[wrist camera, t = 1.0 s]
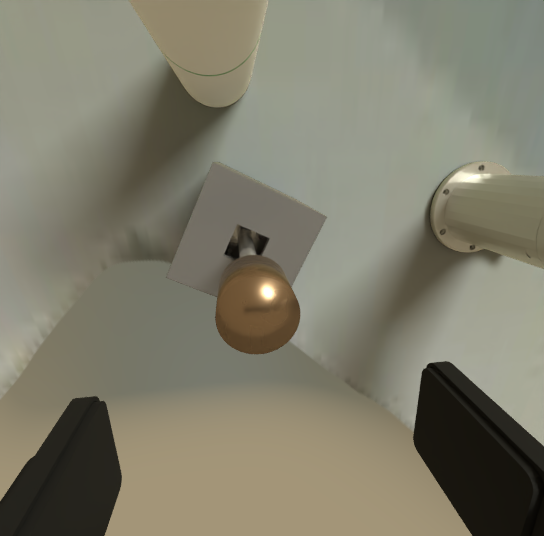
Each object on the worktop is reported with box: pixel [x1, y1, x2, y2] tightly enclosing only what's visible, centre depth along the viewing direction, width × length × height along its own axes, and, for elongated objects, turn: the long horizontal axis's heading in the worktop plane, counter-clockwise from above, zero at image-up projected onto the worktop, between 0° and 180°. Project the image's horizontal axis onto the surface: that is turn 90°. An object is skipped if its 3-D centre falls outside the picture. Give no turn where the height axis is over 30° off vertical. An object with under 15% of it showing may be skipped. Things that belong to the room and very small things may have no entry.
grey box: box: [166, 162, 327, 297], centre depth 37 cm, size 11×11×15 cm
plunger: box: [215, 224, 300, 354], centre depth 26 cm, size 8×8×20 cm
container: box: [129, 0, 268, 108], centre depth 24 cm, size 9×9×30 cm
